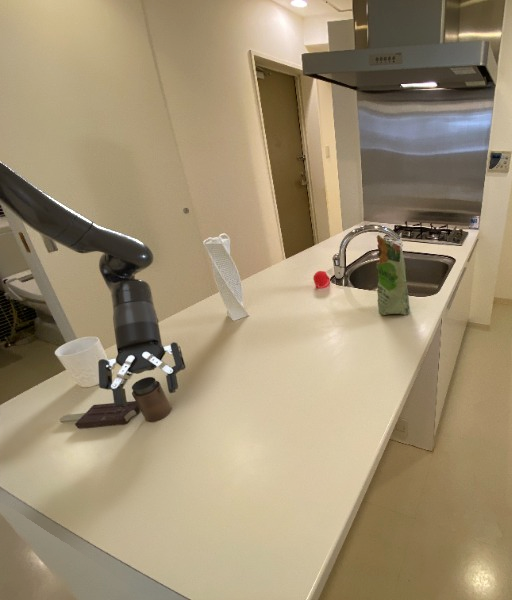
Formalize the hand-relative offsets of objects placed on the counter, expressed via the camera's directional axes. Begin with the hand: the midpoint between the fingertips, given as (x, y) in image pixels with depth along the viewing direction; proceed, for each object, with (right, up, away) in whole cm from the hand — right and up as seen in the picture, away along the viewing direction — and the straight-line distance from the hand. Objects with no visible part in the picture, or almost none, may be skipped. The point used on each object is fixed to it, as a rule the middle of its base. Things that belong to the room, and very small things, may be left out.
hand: (148, 399), depth 67 cm
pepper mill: (-1, -4, +4) cm, 5 cm away
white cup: (-24, +1, +14) cm, 28 cm away
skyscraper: (-2, +15, +41) cm, 44 cm away
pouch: (+49, +17, +42) cm, 67 cm away
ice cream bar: (-12, -5, +3) cm, 14 cm away
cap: (+22, +26, +60) cm, 69 cm away
